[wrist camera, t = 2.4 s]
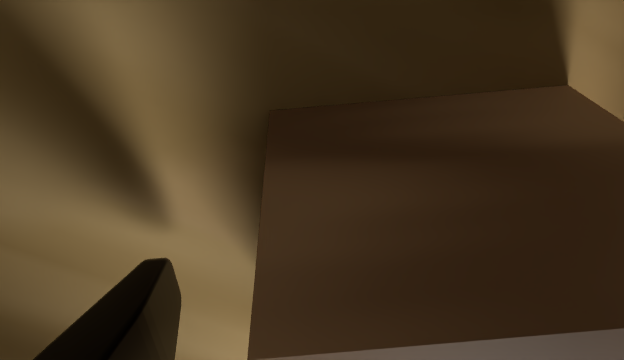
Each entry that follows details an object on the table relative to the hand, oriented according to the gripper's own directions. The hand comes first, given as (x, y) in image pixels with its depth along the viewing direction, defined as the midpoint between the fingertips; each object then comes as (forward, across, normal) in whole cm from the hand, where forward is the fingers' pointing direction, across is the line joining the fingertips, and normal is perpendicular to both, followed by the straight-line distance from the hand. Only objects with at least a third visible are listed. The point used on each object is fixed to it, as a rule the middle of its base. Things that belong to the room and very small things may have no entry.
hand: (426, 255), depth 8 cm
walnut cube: (+1, 0, 0) cm, 1 cm away
